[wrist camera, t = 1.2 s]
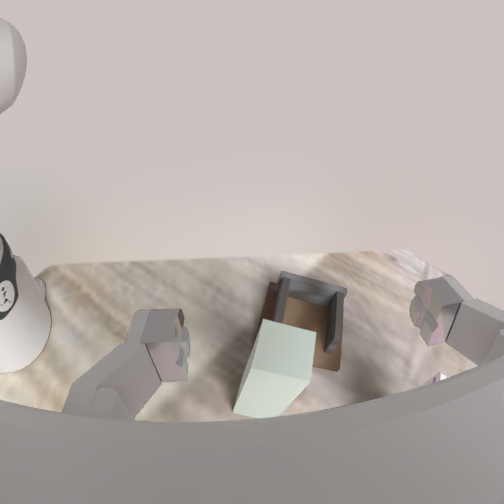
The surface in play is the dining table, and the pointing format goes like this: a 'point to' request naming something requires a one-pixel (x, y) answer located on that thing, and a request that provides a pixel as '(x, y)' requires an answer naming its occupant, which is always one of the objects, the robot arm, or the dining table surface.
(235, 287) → the dining table surface
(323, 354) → the bracket socket
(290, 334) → the pale green block
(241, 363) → the dining table surface
